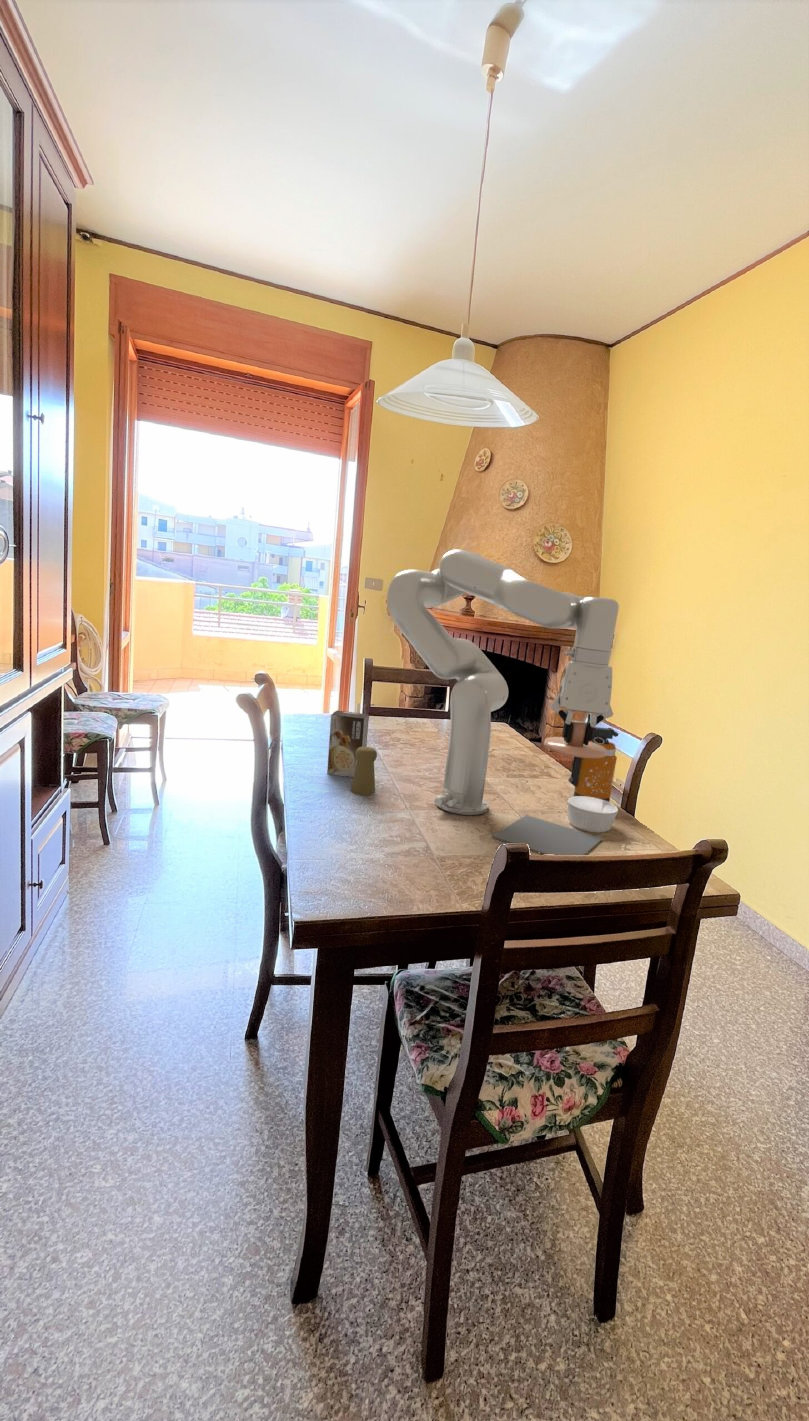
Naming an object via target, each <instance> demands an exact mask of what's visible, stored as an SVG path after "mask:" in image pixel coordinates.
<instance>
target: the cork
mask: <svg viewBox="0 0 809 1421" xmlns="http://www.w3.org/2000/svg"><path fill="white" fill-rule="evenodd" d="M355 756H356V759H357V763H356V768H355V772H354V777H352V782H351V786H350V792H351V793H352V794H354V795H359V796H371V795H372V794H373V795H374V793H375V794H376V783H375V782H376V778H375V776H376V775H375V761H376V760H377V758H378V753H377V750H376V749H375V748H374V747H371V746H367V747H359V748H358V749H357V750H356V753H355Z"/></svg>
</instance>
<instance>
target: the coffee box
mask: <svg viewBox="0 0 809 1421" xmlns="http://www.w3.org/2000/svg"><path fill="white" fill-rule="evenodd" d="M369 718H370V714H368V713H359V712H353V711H347V710H345V711H344V710H335V711H334V712H333V713H331V715H330V723H329V724H330V726H329V727H330V728H329V741H328V753H327V754H328V756H327V759H328V760H327V773H326V774H327V775H332V774H334V775H335V776H339V775H342V776H341V777H346V776H349V777H348V778H353V777H354V772H355V768H356V763H357V759H356V756H355V753H356V750H357V749H358V748H359V747H368V746H367V745H368V732H369V721H370V720H369ZM334 775H333V776H334Z"/></svg>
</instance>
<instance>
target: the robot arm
mask: <svg viewBox="0 0 809 1421" xmlns="http://www.w3.org/2000/svg"><path fill="white" fill-rule="evenodd" d="M386 594H387V595H386V604H387V610H388V613H389V615H390V618H391V620H392V621H393V623H394V625H395V626H396V628H398V630H399V631H400V632H401V633H402V635H403V636H404V637H405V638H406V639H407V641H408V642H409V644H410V645H411V646H412V648H413V649H414V650H415V652H417V654H418V655H419V657H421V659H422V661H423V662H424V663H425V664H426V666H427V667H428V668H429V670H430V671H431V672H432V673H433V674H434V676H436V677H437V678H439V679H441V680H453V679H454V680H457V682H456V683H455V684H454V685H453V688H452V690H451V692H450V701H449V703H450V705H449V706H450V707H449V708H450V724H449V733H448V734H449V736H448V737H449V738H448V746H447V754H446V755H447V756H446V763H445V772H444V779H443V789H442V793H441V794H438V795H437V796H435V799H434V804H435V806H437V807H438V808H439V809H441V810H443V811H446V812H448V813H451V814H457V815H463V816H478V815H482V814H483V815H484V814H485V813H487V812H488V810H489V803H488V802H487V801H486V800H485V799H484V792H485V785H486V784H485V783H486V777H487V771H488V770H487V769H488V763H489V762H488V761H489V755H490V746H491V737H492V723H491V718H492V717H491V712H494V711H496V710H499V709H500V708H502V707H503V706H504V705H505V704H506V702H507V700H508V698H509V687H508V684H507V681H506V680H505V678H504V676H503V675H502V674H501V673H500V672H499V670H498V669H497V668H496V666H495V665H494V664H493V663H492V661H491V660H490V659H489V658H488V657H487V656H486V654H485V653H484V652H483V651H482V650H481V648H479V647H478V645H476V643H474V642H473V641H471V640H469V639H466V638H455V637H454V636H452V635H451V634H450V633H449V632H448V631H447V630H446V628H445V627H444V626H443V625H442V624H441V622H440V621H439V619H437V618H436V616H435V615H433V614H432V613H431V612H430V611H429V610H428V609H427V608H433V607H437V606H441V605H443V604H446V603H448V602H451V601H453V600H454V599H456V598H459V597H461V596H464V595H466V594H468V595H471V596H474V597H475V598H479V599H481V600H482V601H485V602H487V603H490V604H492V605H494V606H496V607H498V608H500V609H502V610H505V611H507V612H509V613H511V614H513V615H516V616H517V617H519V618H522V619H523V620H526V621H529V622H532V623H534V624H537V625H539V626H542V627H544V628H548V629H576V631H575V637H574V642H573V643H574V644H573V646H572V648H570V649H569V648H566V649H565V656H567V657H569V658H570V659H571V660H568V661H567V664H566V665H565V668H564V671H563V674H562V678H561V682H560V685H559V689H558V693H557V694H558V695H557V696H555V698H554V699H553V700H552V702H551V703H550V705H549V708H550V709H551V710H552V711H553V712H555V713H556V714H557V715H558V716H559V717H560V719H562V721H563V729H562V733H561V737H563V738H564V741H565V742H566V743H570V741H571V735H572V729H573V725H572V721H573V718H574V714H575V712H578V713H587V719H586V723H587V728H586V733H585V739H584V744H585V745H588V743H589V741H591V738H592V733H593V727H596V726H597V725H598V724H600V723H601V722H602V721H603V720H607V719H609V718H612V717H613V715H614V712H613V709H612V706H611V699H612V689H613V667H612V666H609V663H610V659H611V652H612V647H613V642H614V636H615V631H616V625H617V619H618V614H619V608H620V606H619V602H618V601H617V600H616V599H613V598H608V597H599V596H586V597H585V596H581V595H577V594H575V593H574V594H573V593H570V592H564V591H561V590H560V591H558V590H555V589H552V588H549V587H547V586H544V585H542V584H539V583H538V582H534V581H531V580H530V579H527V578H524V577H522V576H520V575H519V574H518V573H517V572H516V571H515V570H514V569H513V568H511V567H508V566H505V565H503V564H500V563H497V562H495V561H492V560H490V559H487V558H484V557H483V556H481V555H480V554H478V553H477V552H472V551H468V550H465V549H452V550H449V551H448V552H446V553H445V554H444V555H443V556H442V557H441V559H440V560H439V563H438V568H436V569H434V570H432V571H426V570H420V569H406V570H403V571H400V572H398V573H397V574H396V575H394V576H393V578H392V579H391V581H390V583H389V585H388V588H387V593H386ZM560 706H561V708H560ZM562 708H563V709H564V710H565V711H564V710H563V709H562Z"/></svg>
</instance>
